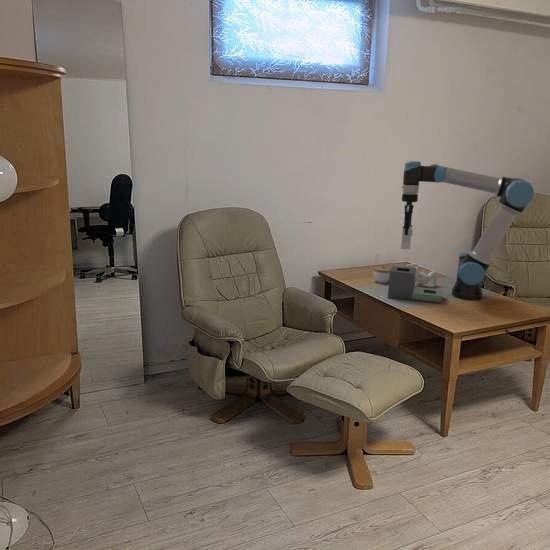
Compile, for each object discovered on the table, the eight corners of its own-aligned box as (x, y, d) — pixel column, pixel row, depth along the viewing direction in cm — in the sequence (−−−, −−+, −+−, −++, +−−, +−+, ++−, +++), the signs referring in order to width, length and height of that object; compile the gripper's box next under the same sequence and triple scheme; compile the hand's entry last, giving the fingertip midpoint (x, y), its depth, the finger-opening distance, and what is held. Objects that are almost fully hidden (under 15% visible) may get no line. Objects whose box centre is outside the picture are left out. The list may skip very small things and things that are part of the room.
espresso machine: (442, 297, 277) (444, 271, 273) (441, 304, 266) (443, 276, 262) (390, 291, 285) (392, 265, 281) (387, 297, 274) (389, 271, 270)
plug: (411, 248, 272) (413, 226, 269) (410, 249, 268) (412, 227, 266) (401, 247, 274) (403, 225, 271) (401, 248, 270) (402, 227, 267)
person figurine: (430, 263, 303) (407, 260, 294) (446, 273, 293) (422, 271, 284) (421, 283, 308) (398, 282, 299) (436, 294, 298) (413, 293, 289)
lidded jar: (368, 280, 305) (369, 264, 302) (381, 278, 311) (382, 262, 308) (382, 285, 296) (384, 268, 294) (395, 282, 303) (397, 266, 300)
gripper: (404, 191, 273) (400, 236, 279) (400, 194, 257) (396, 243, 263) (419, 192, 271) (415, 238, 277) (416, 195, 255) (412, 244, 261)
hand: (406, 240), depth 270 cm, fingers closed on plug, 4 cm apart
